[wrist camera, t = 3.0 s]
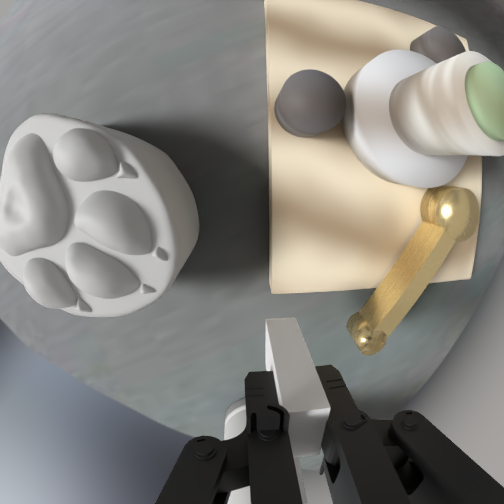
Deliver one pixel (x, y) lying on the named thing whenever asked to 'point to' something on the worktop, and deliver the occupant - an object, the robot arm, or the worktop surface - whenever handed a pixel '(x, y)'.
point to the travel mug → (233, 427)
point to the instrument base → (325, 173)
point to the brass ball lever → (415, 264)
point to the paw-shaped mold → (92, 217)
